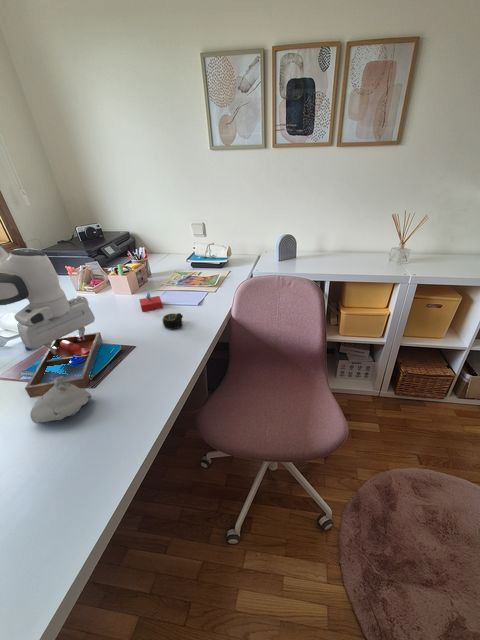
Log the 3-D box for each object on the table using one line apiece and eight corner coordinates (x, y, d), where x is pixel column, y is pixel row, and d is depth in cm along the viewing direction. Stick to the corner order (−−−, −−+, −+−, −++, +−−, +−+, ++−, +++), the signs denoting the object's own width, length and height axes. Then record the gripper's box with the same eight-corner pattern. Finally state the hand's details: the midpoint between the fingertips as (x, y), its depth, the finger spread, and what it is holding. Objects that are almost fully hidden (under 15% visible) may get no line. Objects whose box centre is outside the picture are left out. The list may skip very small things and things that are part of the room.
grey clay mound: (70, 402, 80) (66, 365, 77) (103, 414, 76) (100, 375, 73) (21, 423, 69) (14, 381, 66) (57, 438, 65) (51, 395, 62)
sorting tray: (30, 397, 78) (24, 388, 76) (58, 346, 99) (54, 338, 97) (86, 387, 81) (82, 378, 79) (102, 340, 102) (99, 332, 100)
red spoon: (58, 350, 95) (54, 342, 94) (70, 344, 98) (66, 336, 97) (80, 360, 90) (77, 352, 89) (92, 353, 93) (89, 346, 92)
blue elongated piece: (24, 336, 104) (20, 329, 103) (38, 333, 106) (34, 326, 105) (25, 351, 96) (21, 344, 95) (40, 347, 98) (36, 340, 97)
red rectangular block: (142, 312, 119) (138, 297, 115) (140, 305, 124) (137, 291, 121) (163, 308, 122) (159, 293, 118) (160, 301, 127) (157, 287, 123)
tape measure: (182, 329, 107) (180, 320, 104) (162, 331, 106) (160, 322, 104) (183, 320, 112) (182, 311, 110) (164, 322, 111) (162, 313, 109)
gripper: (78, 292, 95) (92, 329, 103) (7, 318, 81) (30, 360, 88) (90, 295, 93) (104, 334, 100) (19, 323, 78) (42, 366, 86)
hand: (69, 346), depth 94 cm, fingers open, 7 cm apart
